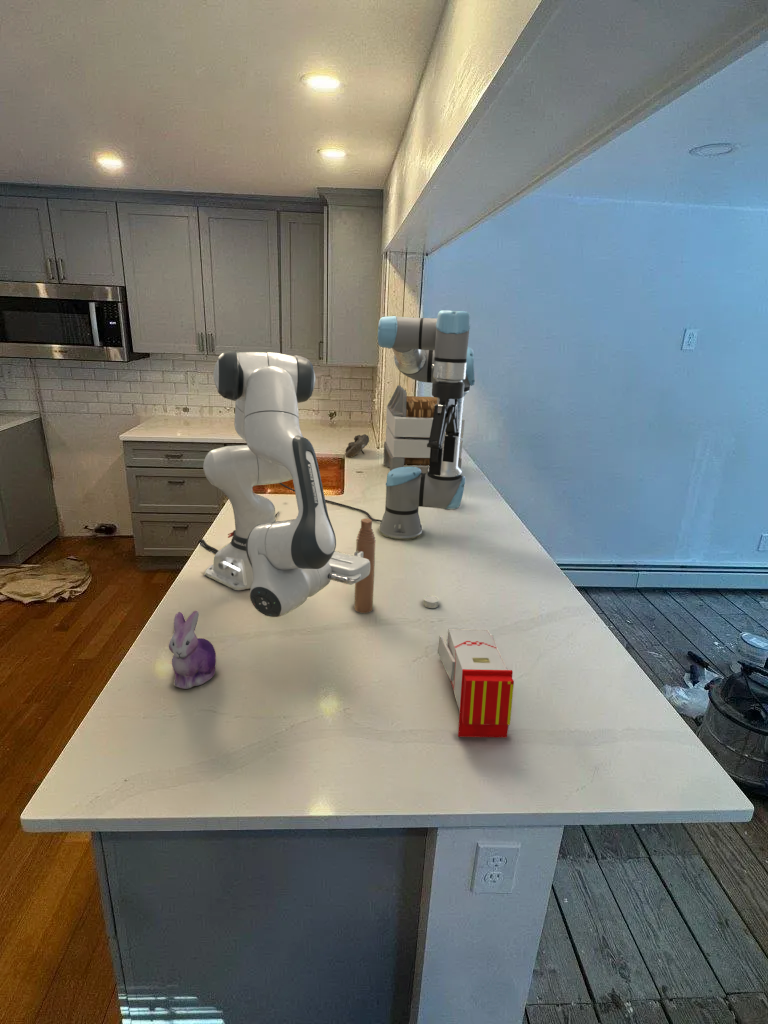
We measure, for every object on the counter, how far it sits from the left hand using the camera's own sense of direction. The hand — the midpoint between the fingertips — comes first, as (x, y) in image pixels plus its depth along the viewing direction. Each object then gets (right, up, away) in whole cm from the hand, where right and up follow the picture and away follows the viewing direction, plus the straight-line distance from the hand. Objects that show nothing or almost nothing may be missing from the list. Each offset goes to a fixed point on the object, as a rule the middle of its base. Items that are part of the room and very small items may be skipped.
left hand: (343, 549), depth 133 cm
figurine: (-30, -26, -13) cm, 42 cm away
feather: (-30, +8, +79) cm, 85 cm away
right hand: (+24, +20, +7) cm, 32 cm away
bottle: (+4, -17, +17) cm, 24 cm away
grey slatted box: (+27, +28, +142) cm, 147 cm away
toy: (+28, -29, -14) cm, 42 cm away
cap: (+22, -15, +20) cm, 33 cm away
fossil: (-5, +40, +173) cm, 178 cm away
